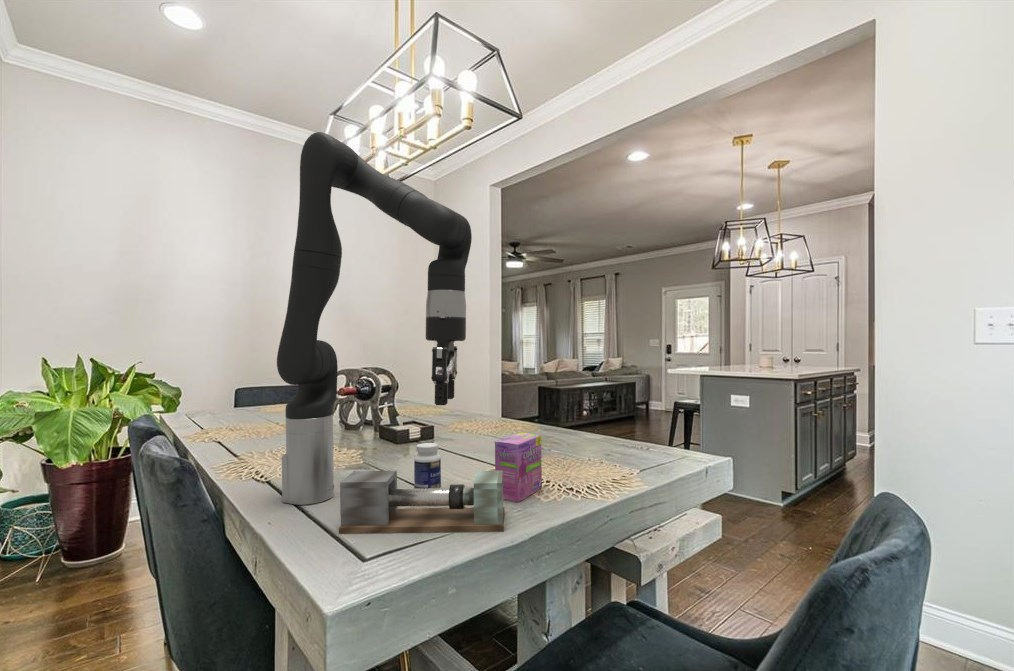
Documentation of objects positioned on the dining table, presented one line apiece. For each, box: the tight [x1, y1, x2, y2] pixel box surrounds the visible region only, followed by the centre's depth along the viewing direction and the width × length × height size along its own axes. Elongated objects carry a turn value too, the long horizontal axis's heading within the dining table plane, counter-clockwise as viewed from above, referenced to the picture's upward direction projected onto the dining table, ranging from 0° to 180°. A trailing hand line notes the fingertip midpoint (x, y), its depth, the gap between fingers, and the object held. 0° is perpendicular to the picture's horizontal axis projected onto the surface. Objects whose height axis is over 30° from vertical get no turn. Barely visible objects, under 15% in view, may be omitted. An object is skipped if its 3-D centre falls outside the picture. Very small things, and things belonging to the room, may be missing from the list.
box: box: [494, 432, 543, 503], centre depth 100 cm, size 10×6×12 cm, turn 148°
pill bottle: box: [413, 442, 442, 489], centre depth 103 cm, size 6×6×10 cm
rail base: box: [338, 469, 506, 535], centre depth 84 cm, size 28×9×8 cm, turn 89°
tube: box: [388, 483, 474, 509], centre depth 84 cm, size 18×4×4 cm, turn 89°
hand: (444, 401), depth 89 cm, fingers open, 8 cm apart
